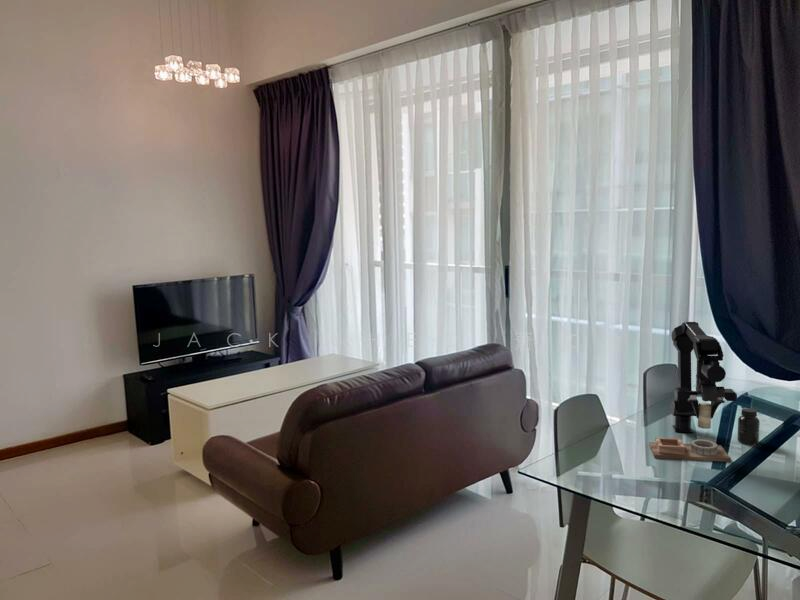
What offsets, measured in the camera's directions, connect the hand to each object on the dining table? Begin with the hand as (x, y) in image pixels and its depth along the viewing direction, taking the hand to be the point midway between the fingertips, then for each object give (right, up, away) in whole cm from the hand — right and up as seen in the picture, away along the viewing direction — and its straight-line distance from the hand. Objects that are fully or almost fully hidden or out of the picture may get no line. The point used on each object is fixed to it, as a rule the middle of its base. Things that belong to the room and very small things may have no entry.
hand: (704, 418), depth 213 cm
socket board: (-4, -13, +3) cm, 14 cm away
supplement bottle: (+21, -11, +11) cm, 26 cm away
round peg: (0, -3, 0) cm, 3 cm away
